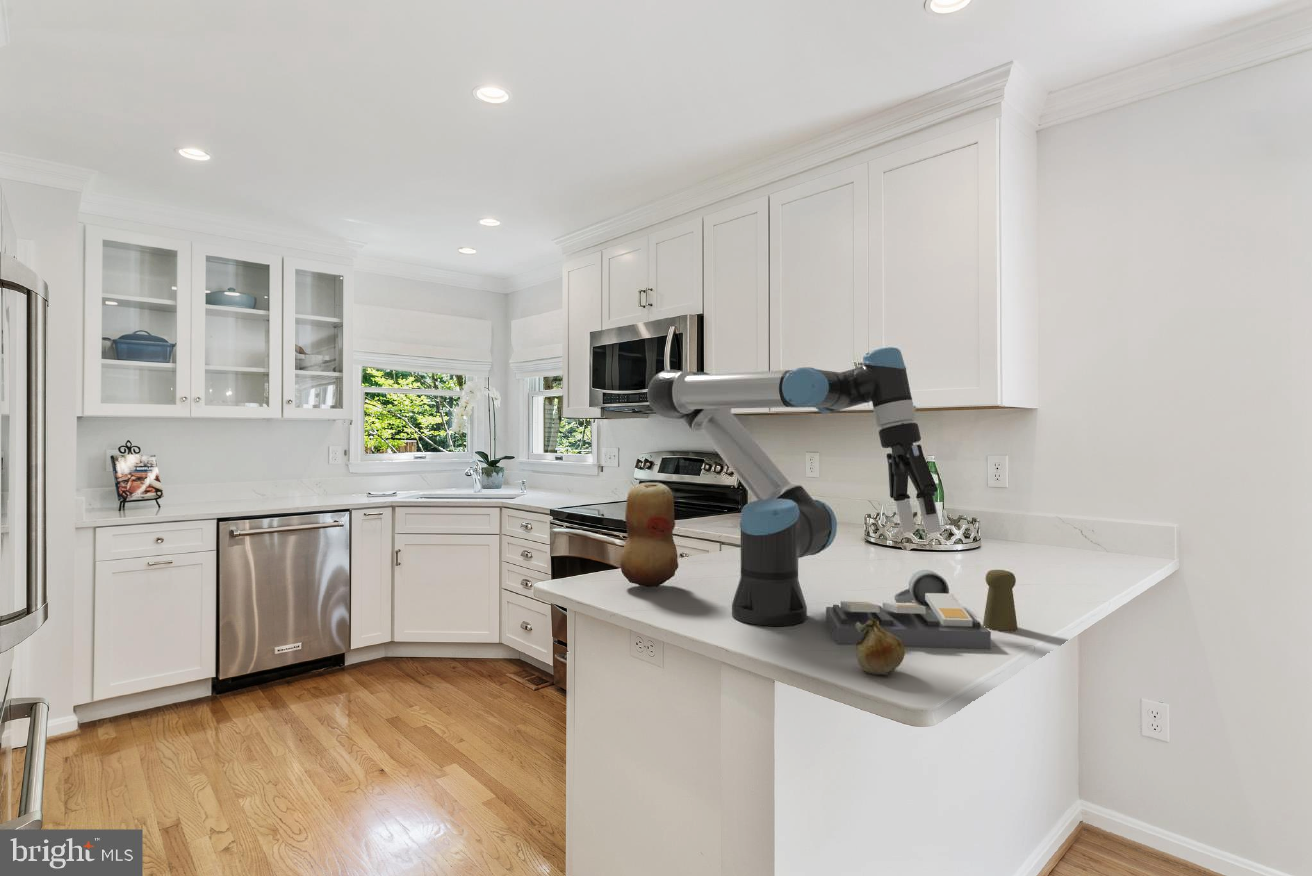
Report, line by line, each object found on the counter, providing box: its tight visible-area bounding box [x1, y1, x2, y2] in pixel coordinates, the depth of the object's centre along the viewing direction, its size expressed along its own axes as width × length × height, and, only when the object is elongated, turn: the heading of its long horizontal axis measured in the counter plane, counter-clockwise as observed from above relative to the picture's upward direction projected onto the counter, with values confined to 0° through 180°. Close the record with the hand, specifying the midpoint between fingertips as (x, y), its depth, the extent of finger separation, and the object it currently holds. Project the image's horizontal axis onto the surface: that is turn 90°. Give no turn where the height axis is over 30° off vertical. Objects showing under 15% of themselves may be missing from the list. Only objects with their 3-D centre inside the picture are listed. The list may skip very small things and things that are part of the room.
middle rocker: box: [882, 602, 927, 614], centre depth 127 cm, size 5×11×1 cm, turn 174°
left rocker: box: [839, 600, 880, 612], centre depth 128 cm, size 5×11×1 cm, turn 174°
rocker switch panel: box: [825, 604, 992, 650], centre depth 127 cm, size 26×14×4 cm, turn 84°
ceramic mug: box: [893, 569, 950, 610], centre depth 149 cm, size 11×8×8 cm
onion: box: [855, 619, 906, 676], centre depth 107 cm, size 8×8×8 cm
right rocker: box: [925, 593, 973, 626], centre depth 126 cm, size 5×11×1 cm, turn 174°
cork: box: [982, 569, 1018, 633], centre depth 132 cm, size 6×6×11 cm
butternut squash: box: [620, 482, 679, 588], centre depth 164 cm, size 14×13×25 cm
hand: (920, 532), depth 132 cm, fingers open, 13 cm apart
